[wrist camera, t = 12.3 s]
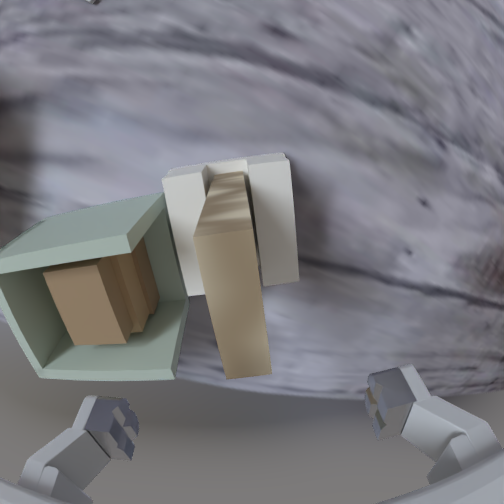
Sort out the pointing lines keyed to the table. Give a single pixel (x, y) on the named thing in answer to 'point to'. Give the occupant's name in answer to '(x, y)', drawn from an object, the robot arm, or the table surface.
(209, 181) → the holder
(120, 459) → the robot arm
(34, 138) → the table surface
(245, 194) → the rectangular block
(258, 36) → the table surface
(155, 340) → the rack
